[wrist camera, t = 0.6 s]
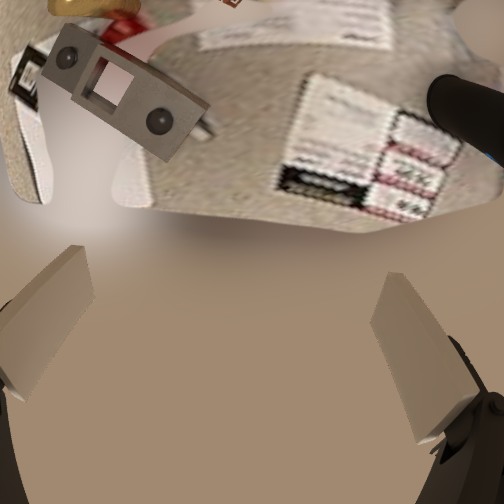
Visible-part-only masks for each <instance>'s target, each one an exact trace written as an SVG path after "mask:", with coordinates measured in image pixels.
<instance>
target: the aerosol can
mask: <svg viewBox="0 0 504 504" xmlns="http://www.w3.org/2000/svg"><path fill="white" fill-rule="evenodd" d="M427 105H428V110H429V113H430V116H431V118H432V119H433V121H434V122H435V123H436V125H437V126H438V127H440V128H441V129H443V130H445V131H449V132H451V133H453V134H455V135H456V136H458V137H460V138H461V139H463V140H464V141H466V142H467V143H469V144H470V145H472V146H473V147H475V148H476V149H478V150H479V151H481V152H482V153H484V154H485V155H487V156H488V157H489V158H491V159H492V160H493V161H495V162H496V163H498V164H499V165H500V166H501V167H503V168H504V93H502V92H499V91H496V90H493V89H491V88H488V87H485V86H482V85H479V84H476V83H473V82H469V81H466V80H463V79H460V78H459V77H457V76H454V75H450V74H446V75H442V76H439V77H438V78H436V79H435V80H434V81H433V83H432V84H431V86H430V88H429V91H428V96H427Z"/></svg>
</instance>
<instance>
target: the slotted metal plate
mask: <svg viewBox="0 0 504 504" xmlns="http://www.w3.org/2000/svg"><path fill="white" fill-rule="evenodd" d="M109 61H110V62H112V63H114V64H115V65H117V66H119V67H120V68H122V69H124V70H125V71H127V72H129V73H130V74H132V75H134V76H135V77H134V79H133V81H132V82H131V84H130V86H129V87H128V89H127V91H126V92H125V94H124V96H123V97H122V99H121V101H120V103H119V104H118V106H116V105H114V104H112V103H111V102H110V101H108V100H106V99H105V98H103V97H102V96H100V95H99V94H97V93H95V92H94V91H93V89H94V87H95V85H96V83H97V82H98V79H99V78H100V76H101V74H102V72H103V71H104V69H105V67H106V65H107V64H108V62H109ZM41 75H43V76H44V77H46V78H47V79H49V80H51V81H53V82H54V83H56V84H57V85H59V86H61V87H62V88H64V89H65V90H67V91H68V92H70V93H72V94H73V95H72V97H71V100H73V101H74V102H76V103H77V104H79V105H80V106H82V107H83V108H85V109H86V110H88V111H90V112H91V113H93V114H94V115H96V116H97V117H99V118H100V119H102V120H104V121H105V122H107V123H108V124H110V125H111V126H113V127H114V128H116V129H117V130H119V131H120V132H122V133H123V134H125V135H126V136H128V137H129V138H131V139H132V140H134V141H135V142H137V143H138V144H140V145H141V146H143V147H144V148H146V149H147V150H148V151H150V152H151V153H153V154H154V155H156V156H157V157H159V158H160V159H162V160H163V161H165V162H166V163H167V162H168V161H169V160H170V159H171V157H172V156H173V155H174V154H175V152H176V151H177V149H178V148H179V147H180V145H181V144H182V142H183V141H184V140H185V138H186V137H187V136H188V134H189V133H190V132H191V130H192V129H193V128H194V126H195V125H196V124H197V122H198V121H199V120H200V119H201V117H202V116H203V115H204V113H205V112H206V111H207V110H208V108H209V107H210V105H209V104H207V103H206V102H204V101H203V100H202V99H200V98H199V97H197V96H196V95H194V94H193V93H191V92H190V91H188V90H187V89H186V88H184V87H183V86H181V85H180V84H178V83H176V82H175V81H173V80H172V79H170V78H169V77H167V76H166V75H164V74H162V73H161V72H159V71H158V70H156V69H154V68H153V67H151V66H150V65H148V64H146V63H145V62H143V61H141V60H140V59H138V58H136V57H134V56H133V55H131V54H129V53H127V52H126V51H124V50H122V49H120V48H119V47H117V46H115V45H113V44H111V43H110V42H108V41H106V40H104V39H102V38H100V37H98V36H96V35H94V34H92V33H90V32H88V31H86V30H84V29H82V28H80V27H78V26H76V25H74V24H72V23H65V24H64V26H63V28H62V30H61V32H60V34H59V36H58V38H57V40H56V42H55V44H54V46H53V48H52V50H51V52H50V54H49V57H48V59H47V61H46V63H45V66H44V68H43V70H42V73H41Z"/></svg>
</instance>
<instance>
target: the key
mask: <svg viewBox="0 0 504 504" xmlns="http://www.w3.org/2000/svg"><path fill="white" fill-rule="evenodd" d="M219 1H221V0H219ZM233 1H234V2H235V1H236V0H233ZM241 1H242V0H239V1H238V2H237V3H236V4H235V3H233V2H231V0H223V3H225V4H227V5H229V6H231V7H233V8H236V7H237V5H238V4H239V3H240V2H241Z"/></svg>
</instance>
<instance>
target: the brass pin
mask: <svg viewBox="0 0 504 504" xmlns="http://www.w3.org/2000/svg"><path fill="white" fill-rule="evenodd" d="M140 6H141V3H140V0H48V11H49V13H50V14H51V15H53V16H80V17H95V18H106V19H115V20H123V21H124V20H129V19H131V18H133V17H134V16H135V15H136V14H137V13H138V12H139V10H140Z"/></svg>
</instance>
